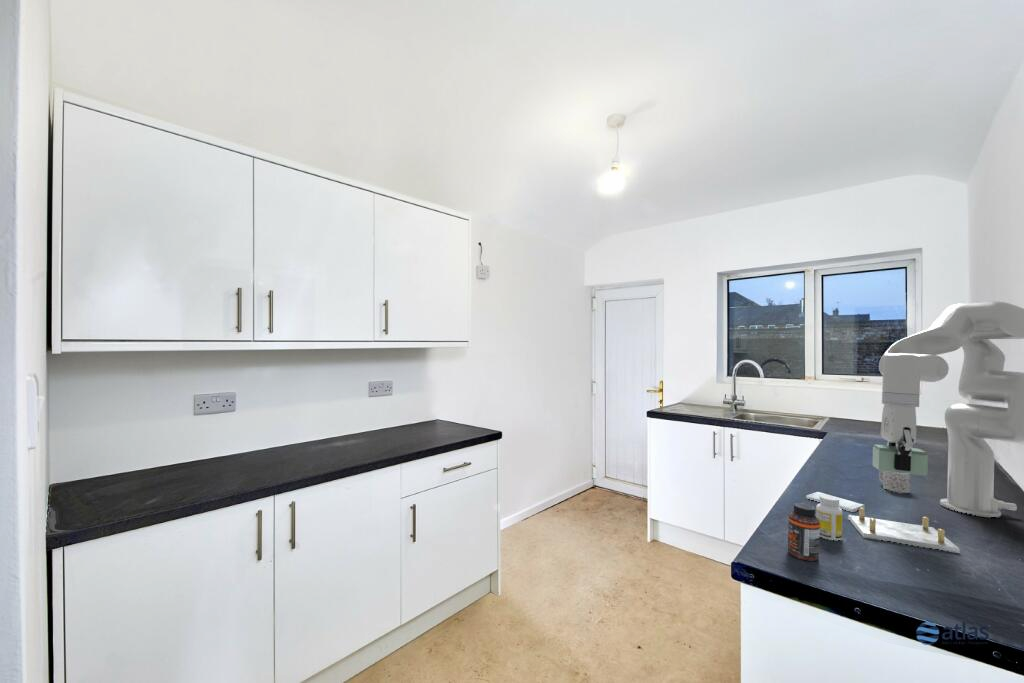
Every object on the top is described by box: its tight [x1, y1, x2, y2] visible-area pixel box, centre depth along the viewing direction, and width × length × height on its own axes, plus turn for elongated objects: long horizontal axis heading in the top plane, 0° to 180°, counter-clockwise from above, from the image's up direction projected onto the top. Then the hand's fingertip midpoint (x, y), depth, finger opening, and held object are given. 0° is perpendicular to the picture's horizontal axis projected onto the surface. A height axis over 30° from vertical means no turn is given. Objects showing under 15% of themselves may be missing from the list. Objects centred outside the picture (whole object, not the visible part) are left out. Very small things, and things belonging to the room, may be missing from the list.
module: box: [872, 444, 929, 477], centre depth 117 cm, size 10×5×6 cm, turn 65°
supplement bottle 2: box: [815, 494, 844, 542], centre depth 109 cm, size 5×5×10 cm
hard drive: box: [805, 491, 866, 513], centre depth 133 cm, size 2×8×12 cm
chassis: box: [847, 507, 960, 554], centre depth 111 cm, size 18×13×4 cm
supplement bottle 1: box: [787, 502, 821, 562], centre depth 99 cm, size 6×6×11 cm
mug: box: [878, 470, 911, 494], centre depth 149 cm, size 10×7×7 cm, turn 179°
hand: (898, 466), depth 117 cm, fingers closed on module, 5 cm apart
